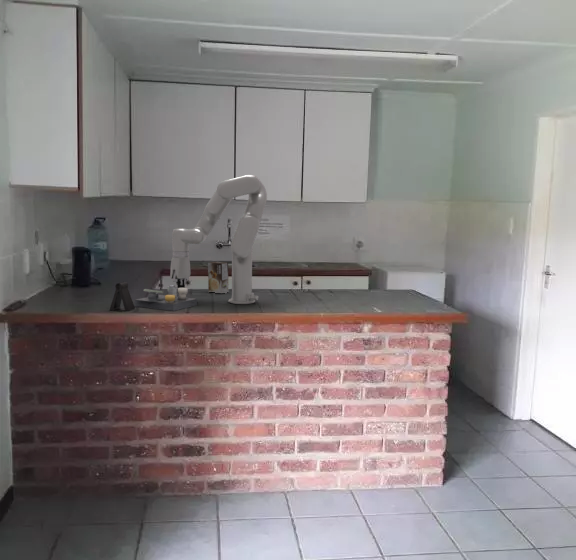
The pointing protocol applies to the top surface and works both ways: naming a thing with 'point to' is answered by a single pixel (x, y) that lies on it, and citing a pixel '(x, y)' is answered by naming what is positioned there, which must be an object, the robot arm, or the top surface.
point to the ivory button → (182, 293)
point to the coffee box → (218, 277)
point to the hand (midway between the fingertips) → (181, 293)
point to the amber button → (169, 298)
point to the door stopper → (122, 298)
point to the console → (164, 303)
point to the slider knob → (172, 290)
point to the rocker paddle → (153, 291)
